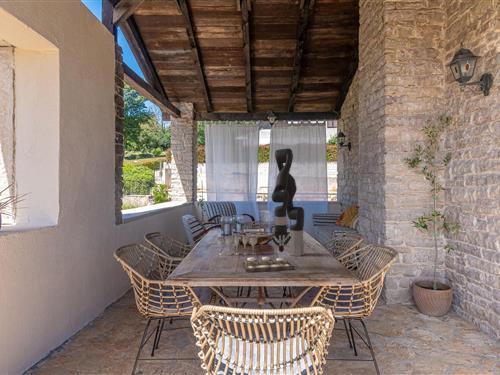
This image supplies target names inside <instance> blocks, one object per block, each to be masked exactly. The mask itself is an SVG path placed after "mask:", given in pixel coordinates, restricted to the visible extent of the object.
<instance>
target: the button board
mask: <svg viewBox="0 0 500 375" xmlns="http://www.w3.org/2000/svg"><path fill="white" fill-rule="evenodd" d="M277 258H278V257H277ZM277 258H276V257H274V258H273V259H271V258H270V261H262V258H259V261H258V260H257V259H256V262H247V259H244V261H242V262H241V266H242V268H243V269H244V271H245V273H257V272H258V273H259V272H273V271H291V270H294V266H293V264H291V263H290V262H289V261H288V259H286V257H283V258H284V259H285V260H281V261H277V260H276V259H277Z"/></svg>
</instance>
